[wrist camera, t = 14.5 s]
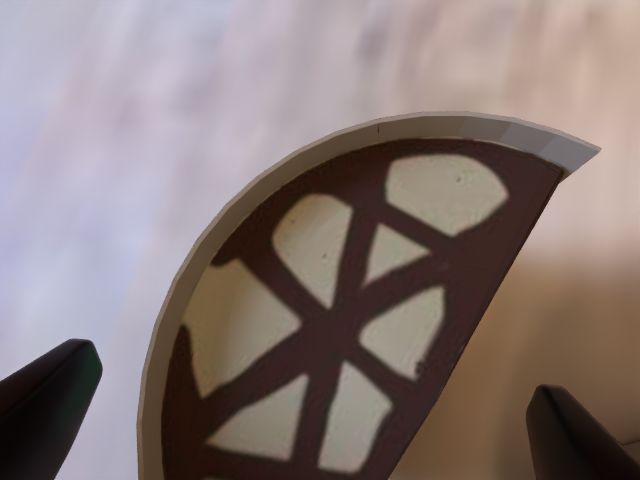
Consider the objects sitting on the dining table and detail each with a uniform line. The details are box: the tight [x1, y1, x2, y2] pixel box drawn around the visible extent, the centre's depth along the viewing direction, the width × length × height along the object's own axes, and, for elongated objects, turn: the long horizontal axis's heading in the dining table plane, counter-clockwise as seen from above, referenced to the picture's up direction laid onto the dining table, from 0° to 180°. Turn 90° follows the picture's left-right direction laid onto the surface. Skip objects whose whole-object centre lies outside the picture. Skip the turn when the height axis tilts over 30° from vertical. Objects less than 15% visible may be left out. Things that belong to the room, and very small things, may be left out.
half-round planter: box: [137, 111, 602, 480], centre depth 13 cm, size 12×6×10 cm, turn 147°
